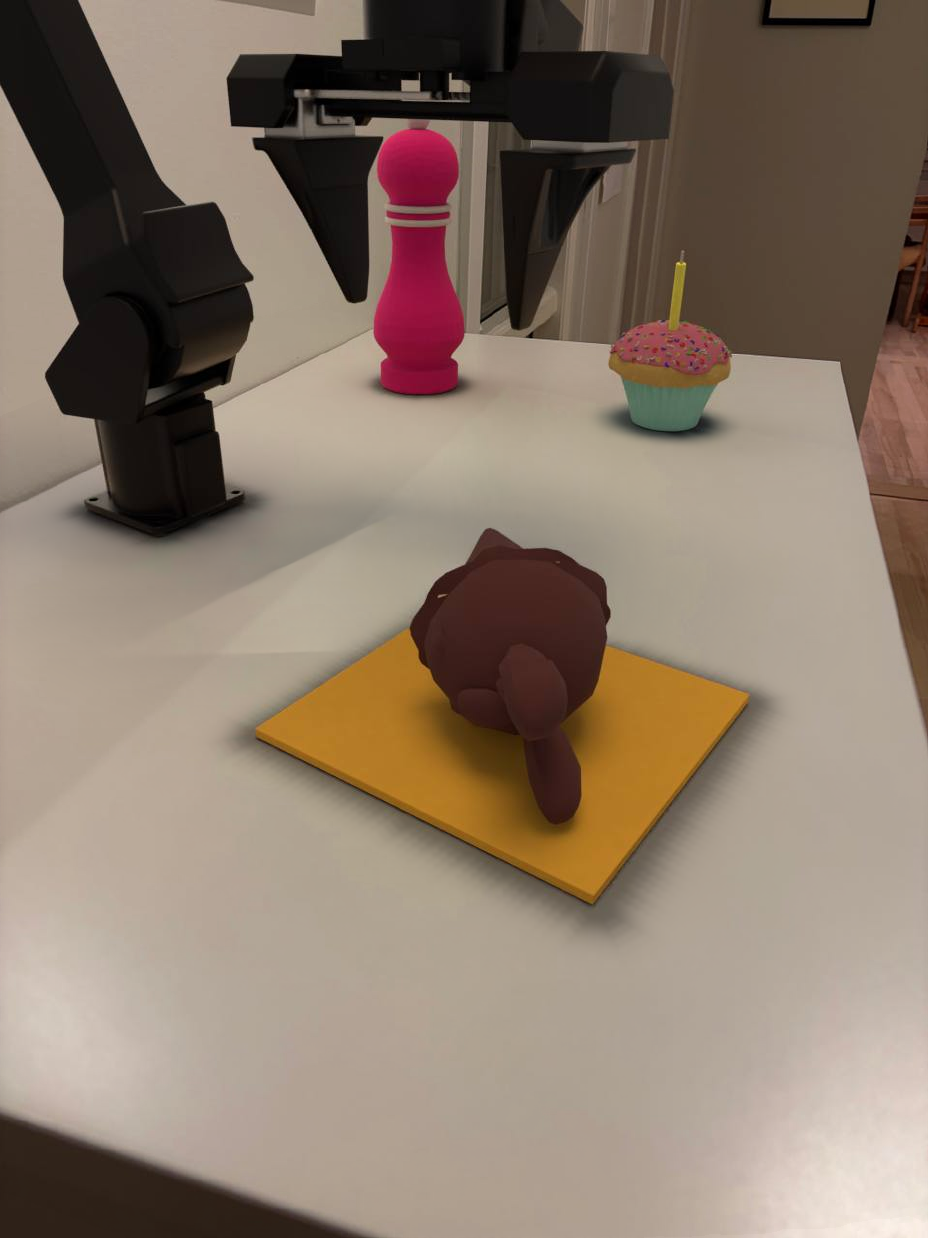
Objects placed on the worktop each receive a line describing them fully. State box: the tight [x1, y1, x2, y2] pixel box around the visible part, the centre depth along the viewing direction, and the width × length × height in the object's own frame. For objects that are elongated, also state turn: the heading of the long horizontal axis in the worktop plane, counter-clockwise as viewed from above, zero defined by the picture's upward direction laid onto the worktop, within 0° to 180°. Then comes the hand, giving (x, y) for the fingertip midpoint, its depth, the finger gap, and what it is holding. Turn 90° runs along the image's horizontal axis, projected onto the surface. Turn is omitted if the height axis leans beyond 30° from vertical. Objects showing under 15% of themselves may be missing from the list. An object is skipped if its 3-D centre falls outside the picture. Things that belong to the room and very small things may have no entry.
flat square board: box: [254, 626, 750, 905], centre depth 36 cm, size 14×13×1 cm
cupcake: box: [607, 250, 733, 432], centre depth 65 cm, size 9×8×12 cm
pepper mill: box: [372, 119, 466, 395], centre depth 71 cm, size 7×7×20 cm
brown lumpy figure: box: [409, 527, 612, 825], centre depth 34 cm, size 7×7×15 cm
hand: (434, 314), depth 42 cm, fingers open, 9 cm apart
